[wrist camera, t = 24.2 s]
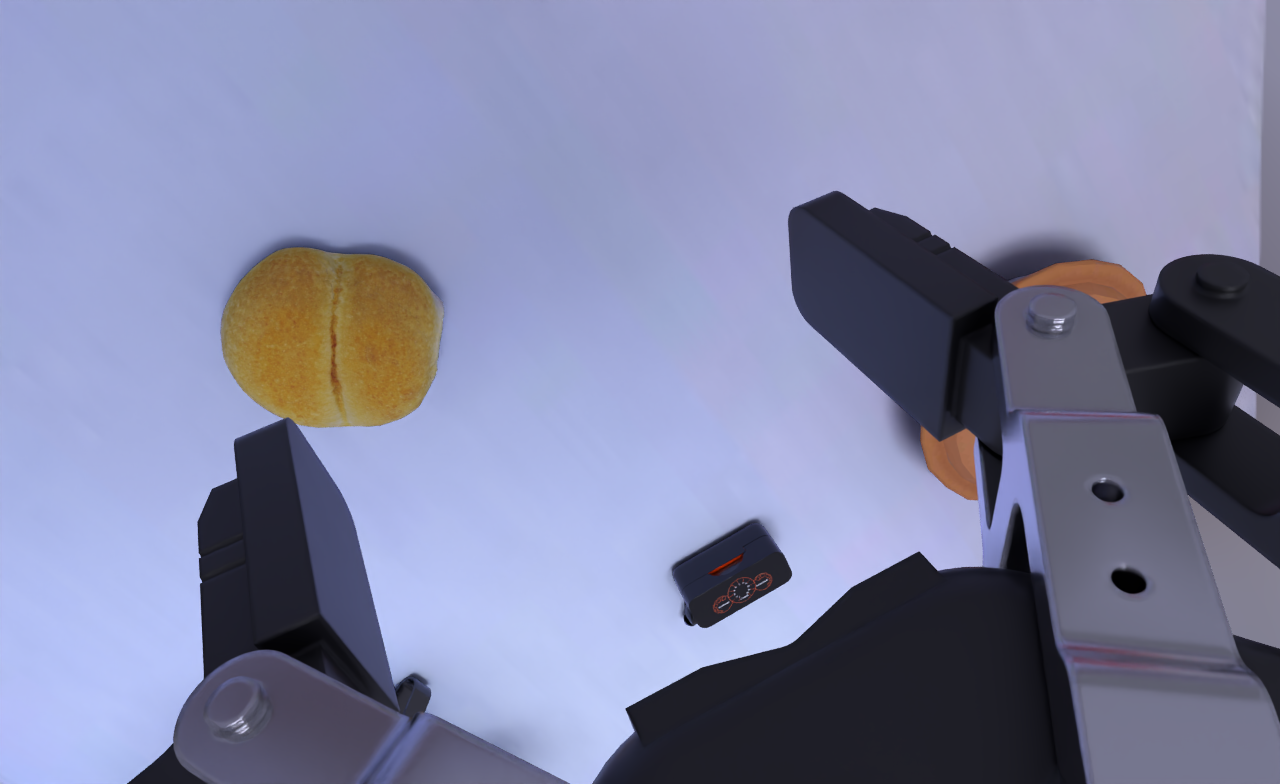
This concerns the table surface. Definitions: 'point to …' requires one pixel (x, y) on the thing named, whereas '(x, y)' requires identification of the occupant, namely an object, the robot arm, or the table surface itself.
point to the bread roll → (333, 337)
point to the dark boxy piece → (730, 575)
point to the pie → (1087, 276)
